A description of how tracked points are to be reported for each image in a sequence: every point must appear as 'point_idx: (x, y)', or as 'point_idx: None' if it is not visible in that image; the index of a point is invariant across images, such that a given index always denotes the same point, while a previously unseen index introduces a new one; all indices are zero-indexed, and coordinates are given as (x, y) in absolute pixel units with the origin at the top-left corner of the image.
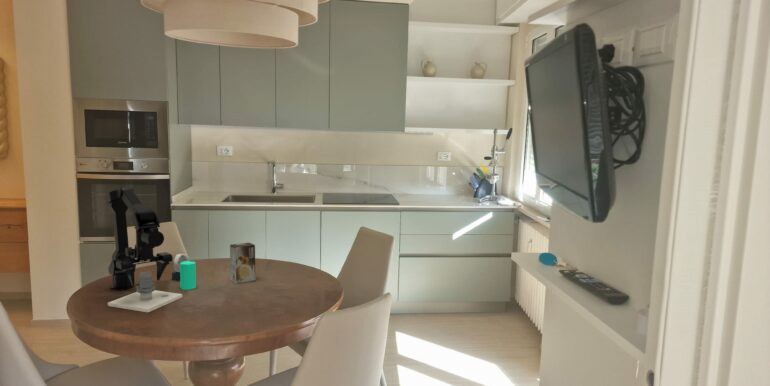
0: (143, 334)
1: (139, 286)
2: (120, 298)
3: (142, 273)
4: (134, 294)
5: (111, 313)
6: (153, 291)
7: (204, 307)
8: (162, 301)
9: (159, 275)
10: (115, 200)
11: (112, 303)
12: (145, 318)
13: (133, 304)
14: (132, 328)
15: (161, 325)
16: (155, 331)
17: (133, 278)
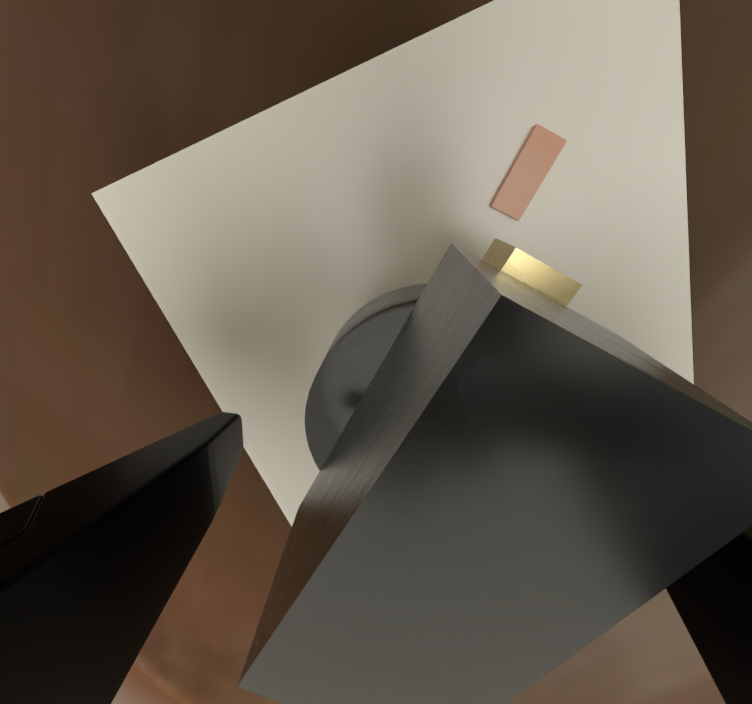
0: (189, 687)
1: (329, 442)
2: (234, 142)
3: (459, 498)
4: (416, 112)
5: (117, 390)
6: (633, 178)
7: (575, 663)
8: None
9: (692, 631)
10: None
11: (128, 253)
12: (262, 584)
13: (269, 412)
14: (169, 628)
15: None
16: (237, 695)
17: (142, 611)
